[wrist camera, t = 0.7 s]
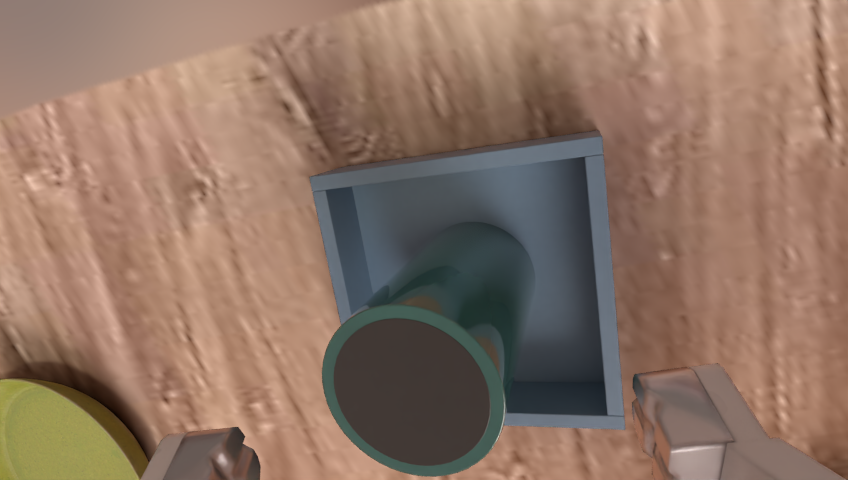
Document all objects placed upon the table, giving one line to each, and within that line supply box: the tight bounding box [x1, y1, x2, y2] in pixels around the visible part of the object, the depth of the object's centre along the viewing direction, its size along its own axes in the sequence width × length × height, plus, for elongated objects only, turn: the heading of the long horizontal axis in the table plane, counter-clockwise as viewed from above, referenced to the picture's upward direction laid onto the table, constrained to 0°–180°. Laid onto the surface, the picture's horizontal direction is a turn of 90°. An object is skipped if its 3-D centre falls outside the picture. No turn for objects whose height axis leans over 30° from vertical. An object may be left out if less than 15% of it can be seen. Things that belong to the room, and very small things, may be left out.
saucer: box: [0, 378, 149, 480], centre depth 43 cm, size 21×21×3 cm
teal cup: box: [322, 222, 536, 477], centre depth 23 cm, size 7×7×12 cm
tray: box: [310, 130, 625, 430], centre depth 27 cm, size 15×15×4 cm
